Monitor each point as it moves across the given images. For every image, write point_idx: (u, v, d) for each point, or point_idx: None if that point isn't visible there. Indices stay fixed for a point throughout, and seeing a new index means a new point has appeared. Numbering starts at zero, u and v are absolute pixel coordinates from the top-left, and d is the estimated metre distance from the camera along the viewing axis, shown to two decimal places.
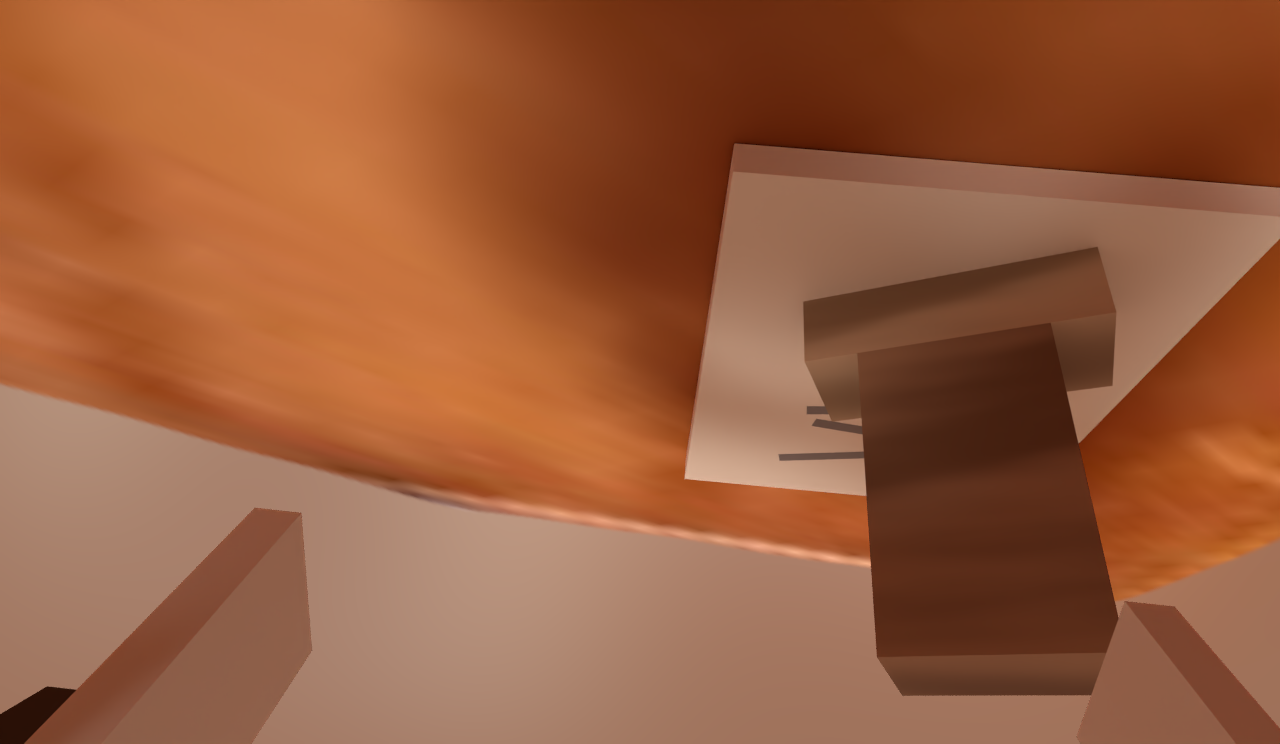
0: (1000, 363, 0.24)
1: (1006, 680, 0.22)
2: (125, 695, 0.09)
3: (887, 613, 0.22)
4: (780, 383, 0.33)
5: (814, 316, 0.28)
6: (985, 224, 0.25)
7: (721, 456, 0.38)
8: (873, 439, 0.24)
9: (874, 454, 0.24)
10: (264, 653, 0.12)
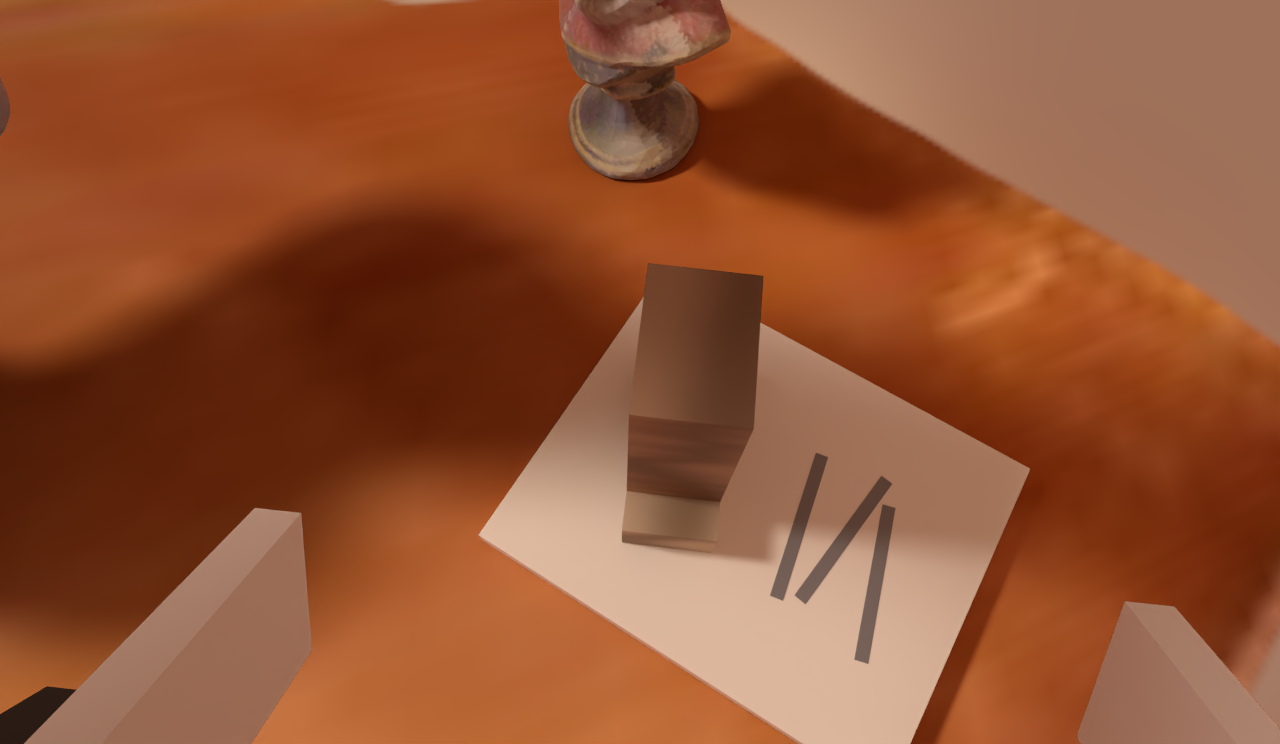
0: None
1: (710, 341, 0.27)
2: (125, 695, 0.09)
3: None
4: (724, 603, 0.36)
5: None
6: (595, 411, 0.39)
7: (842, 724, 0.34)
8: None
9: None
10: (264, 653, 0.12)
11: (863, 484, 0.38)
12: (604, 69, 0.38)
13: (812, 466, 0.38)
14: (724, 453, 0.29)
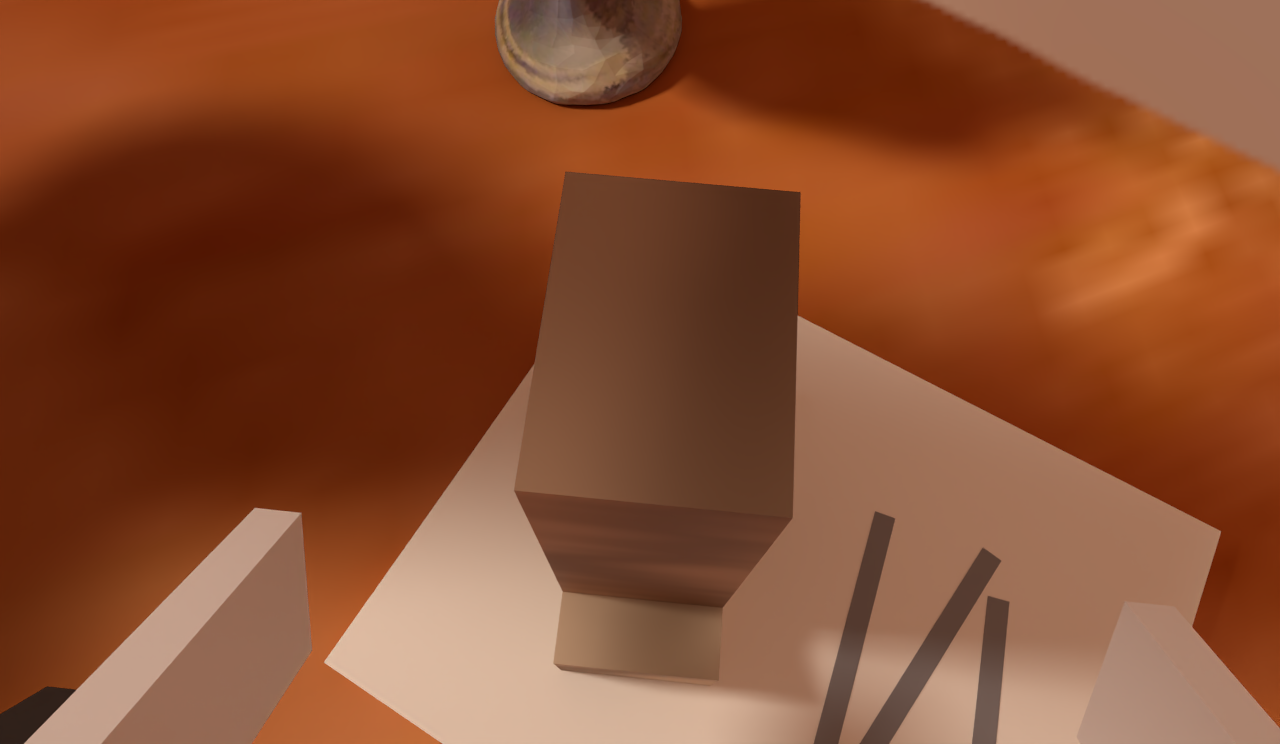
0: None
1: (694, 325, 0.13)
2: (125, 694, 0.09)
3: None
4: None
5: None
6: None
7: None
8: None
9: None
10: (264, 653, 0.12)
11: (954, 562, 0.23)
12: None
13: (870, 534, 0.24)
14: (728, 553, 0.14)
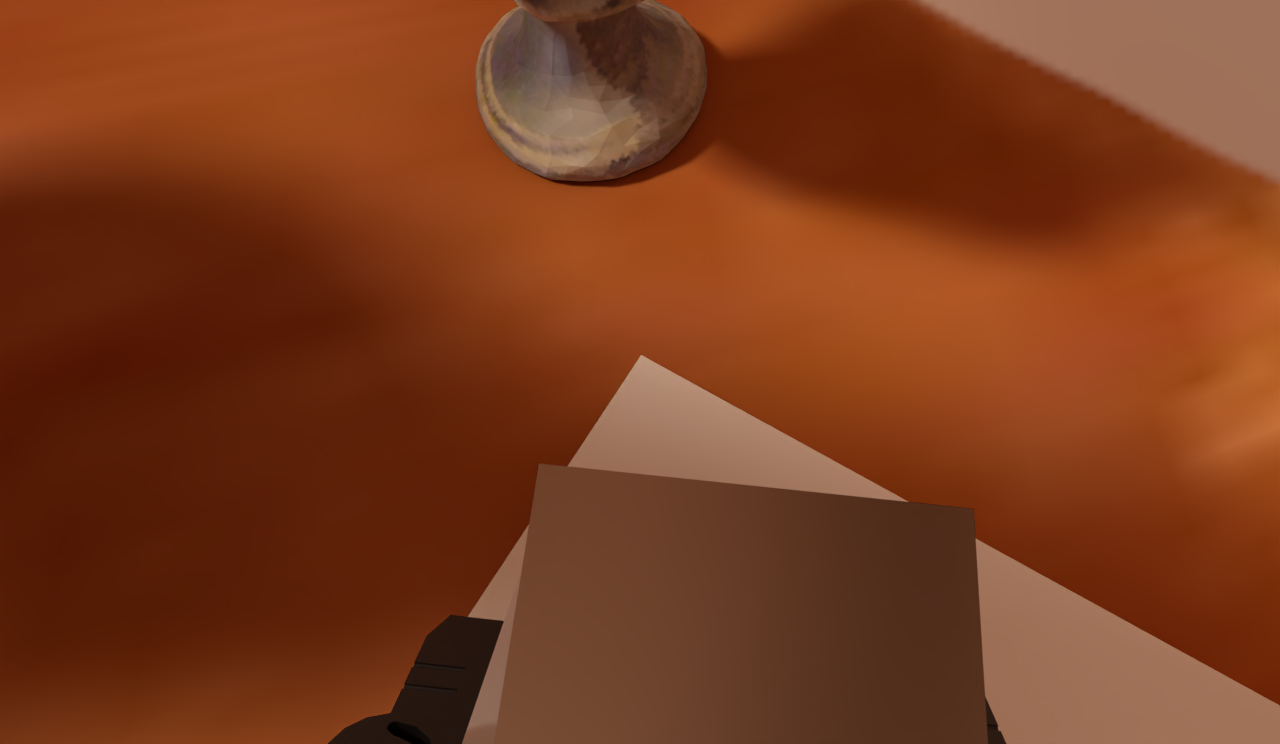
0: None
1: None
2: None
3: None
4: None
5: None
6: None
7: None
8: None
9: None
10: None
11: None
12: None
13: None
14: None
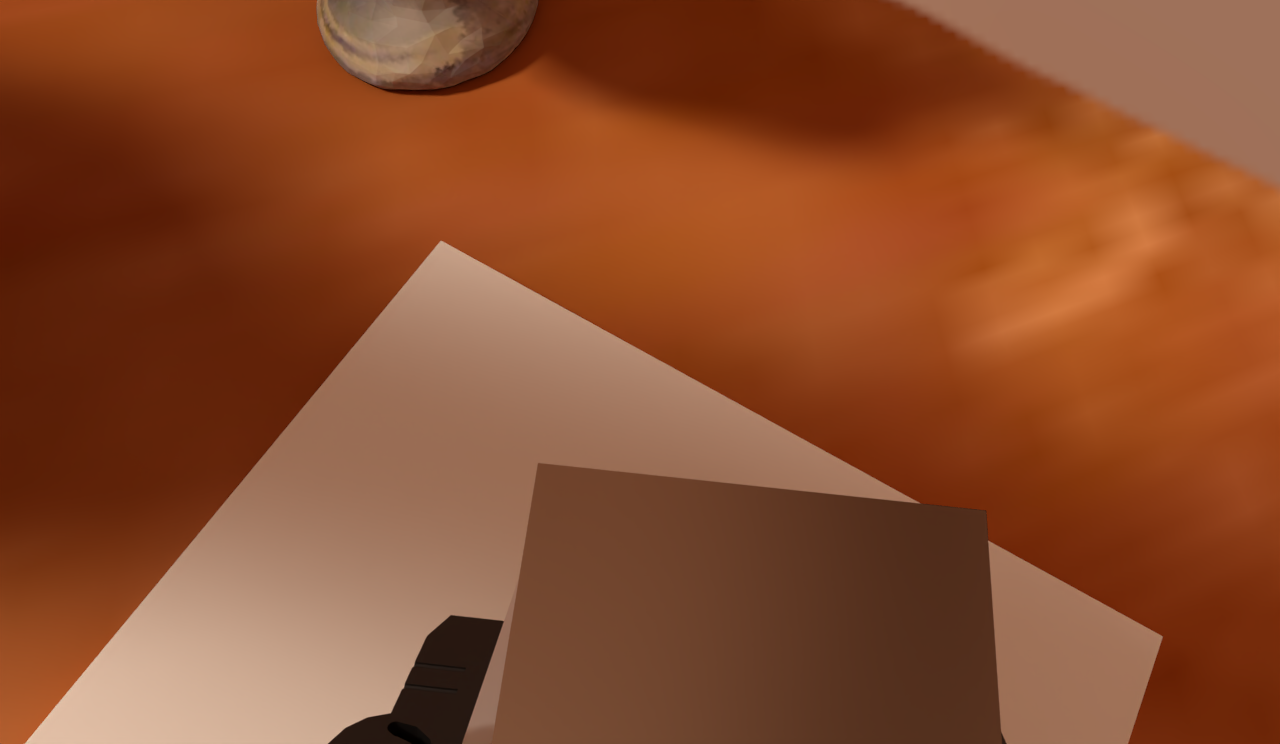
0: None
1: None
2: None
3: None
4: None
5: None
6: (270, 522, 0.19)
7: None
8: None
9: None
10: None
11: None
12: None
13: None
14: None
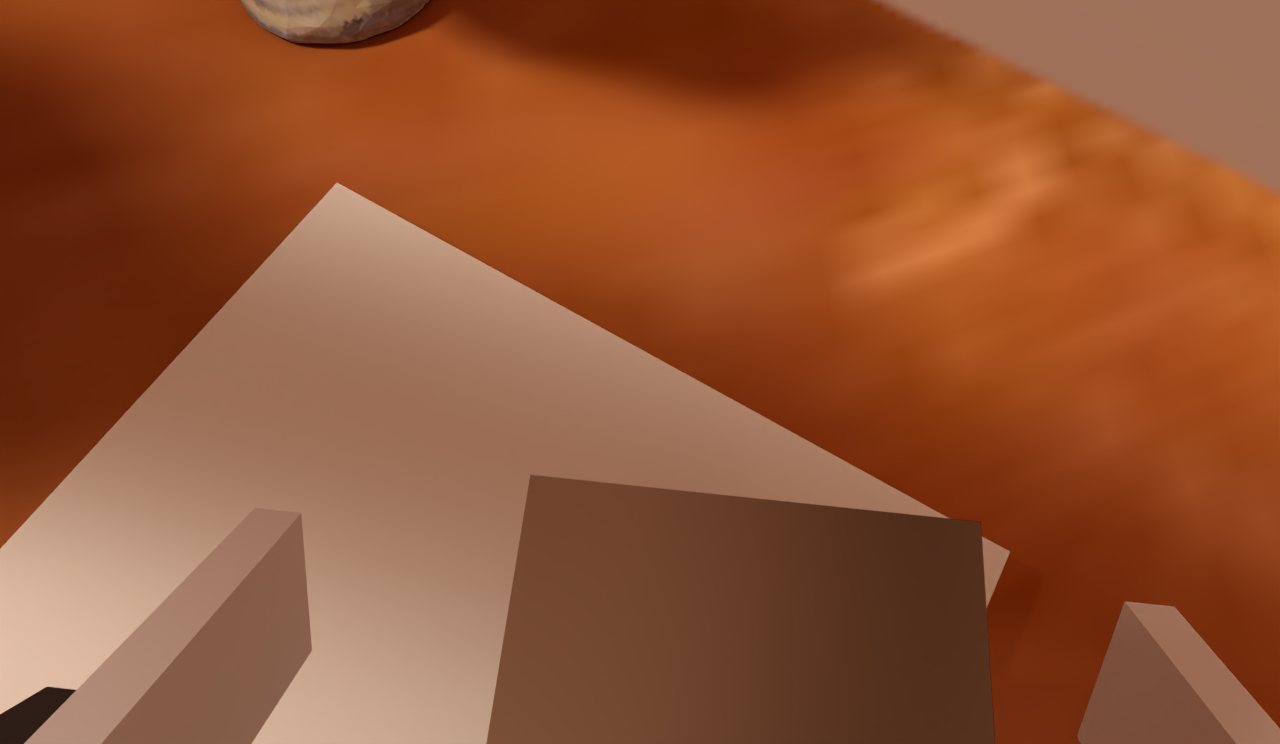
0: None
1: None
2: (125, 695, 0.09)
3: None
4: None
5: None
6: (156, 445, 0.20)
7: None
8: None
9: None
10: (264, 653, 0.12)
11: None
12: None
13: None
14: None
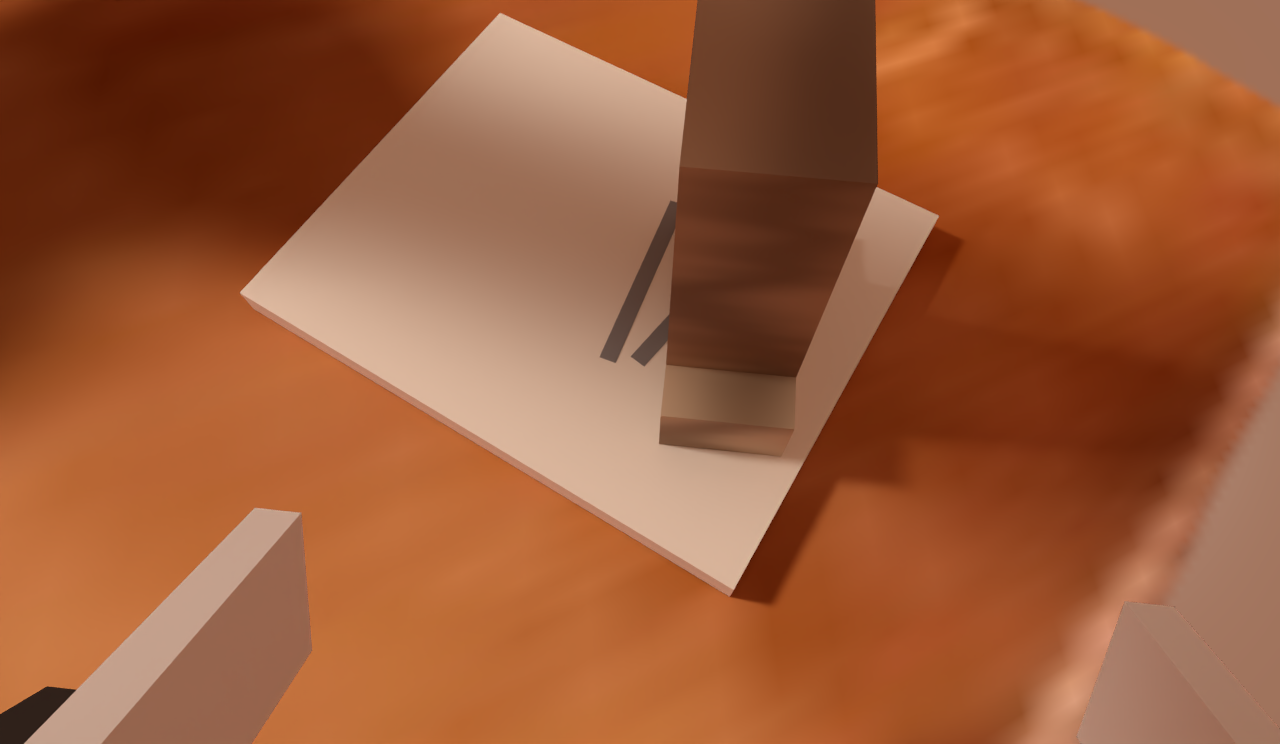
0: None
1: (801, 68, 0.18)
2: (125, 695, 0.09)
3: None
4: (540, 366, 0.28)
5: None
6: (401, 159, 0.32)
7: (681, 504, 0.26)
8: None
9: None
10: (264, 653, 0.12)
11: None
12: None
13: (664, 215, 0.31)
14: (819, 258, 0.19)
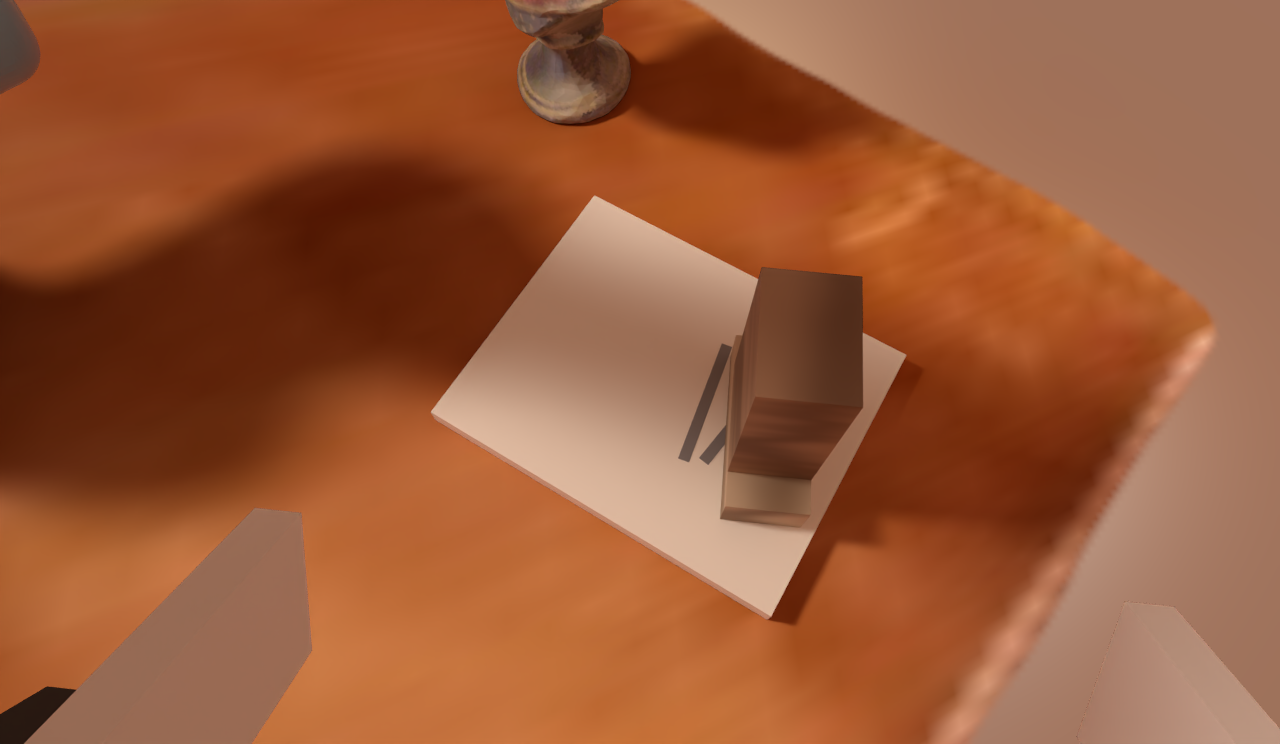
0: (735, 383, 0.40)
1: (820, 333, 0.32)
2: (125, 695, 0.09)
3: (751, 399, 0.32)
4: (638, 464, 0.42)
5: (721, 507, 0.40)
6: (533, 311, 0.45)
7: (736, 559, 0.40)
8: (735, 443, 0.36)
9: (736, 440, 0.36)
10: (264, 653, 0.12)
11: None
12: (537, 19, 0.45)
13: (718, 354, 0.45)
14: (829, 431, 0.33)
